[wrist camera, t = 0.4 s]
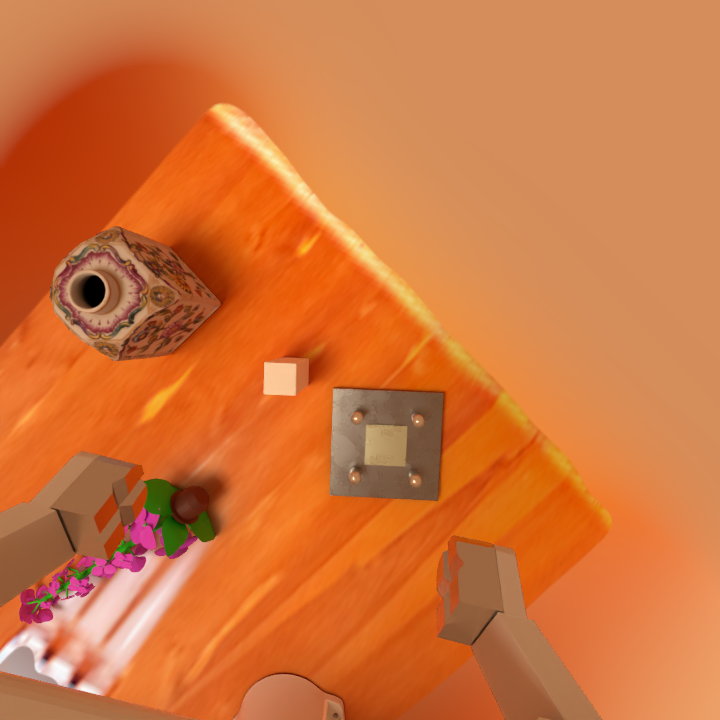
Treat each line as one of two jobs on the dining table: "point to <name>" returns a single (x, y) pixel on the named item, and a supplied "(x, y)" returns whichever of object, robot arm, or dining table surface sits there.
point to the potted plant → (162, 515)
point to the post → (286, 376)
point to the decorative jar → (129, 296)
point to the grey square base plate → (386, 443)
